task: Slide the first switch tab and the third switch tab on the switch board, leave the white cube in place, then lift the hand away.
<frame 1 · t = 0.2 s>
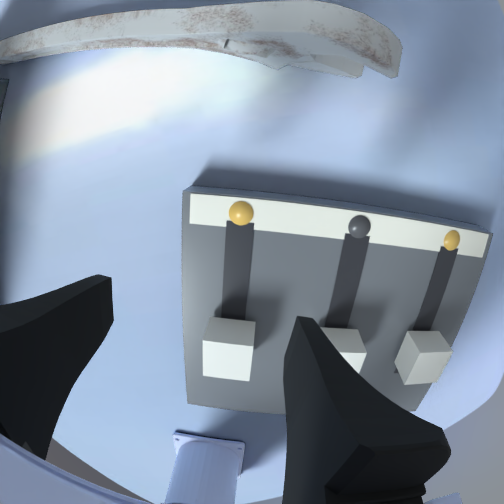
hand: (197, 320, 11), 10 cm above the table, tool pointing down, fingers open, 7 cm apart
white cube 2: (335, 357, 19), point 4 cm above the table, slide at 0.0 cm
switch tab 1: (422, 357, 19), point 4 cm above the table, slide at 0.0 cm
wrench: (140, 43, 16), on the table
switch tab 3: (229, 349, 19), point 4 cm above the table, slide at 0.0 cm
switch board: (331, 320, 22), on the table
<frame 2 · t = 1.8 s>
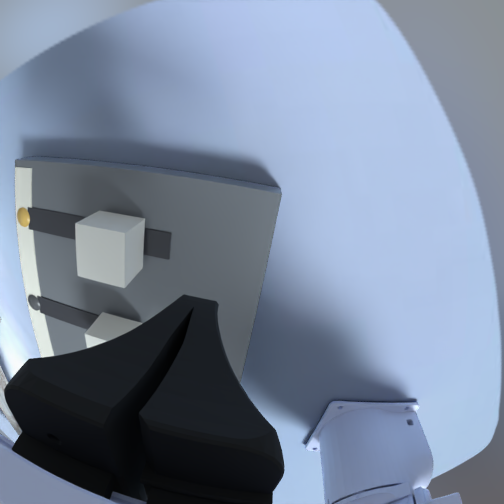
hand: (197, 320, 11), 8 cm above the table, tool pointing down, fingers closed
white cube 2: (115, 346, 18), point 4 cm above the table, slide at 0.0 cm
switch tab 1: (110, 247, 15), point 4 cm above the table, slide at 0.0 cm
wrench: (11, 370, 27), on the table
switch board: (129, 312, 21), on the table
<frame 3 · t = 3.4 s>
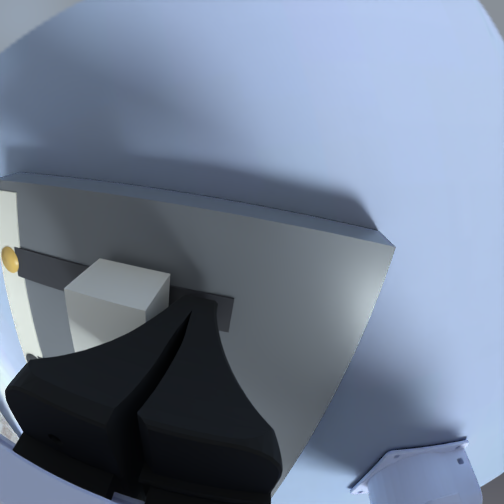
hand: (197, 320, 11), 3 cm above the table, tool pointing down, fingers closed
switch tab 1: (120, 316, 10), point 4 cm above the table, slide at 1.0 cm, touching gripper
wrench: (14, 413, 22), on the table
switch board: (160, 377, 16), on the table
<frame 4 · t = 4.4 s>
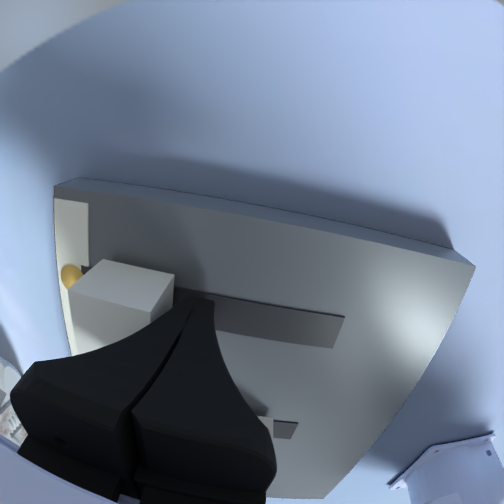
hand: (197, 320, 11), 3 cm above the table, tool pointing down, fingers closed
white cube 2: (236, 449, 13), point 4 cm above the table, slide at 0.0 cm
switch tab 1: (124, 317, 10), point 4 cm above the table, slide at 5.2 cm, touching gripper
wrench: (43, 430, 22), on the table
switch board: (234, 393, 16), on the table
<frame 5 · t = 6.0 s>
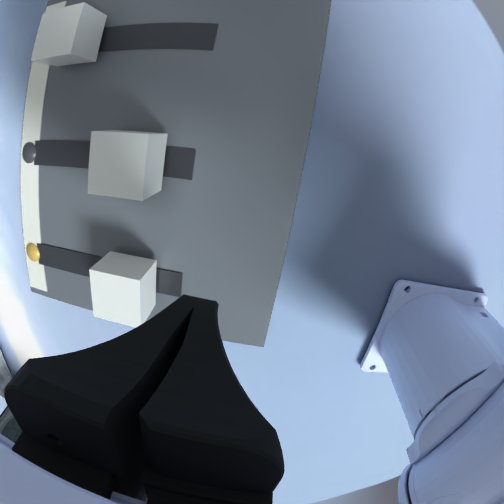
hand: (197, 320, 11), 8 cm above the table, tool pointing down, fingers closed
white cube 2: (127, 161, 14), point 4 cm above the table, slide at 0.0 cm
switch tab 1: (68, 36, 11), point 4 cm above the table, slide at 5.1 cm
cassette player: (119, 450, 30), on the table
switch tab 3: (124, 288, 16), point 4 cm above the table, slide at 0.0 cm
switch board: (146, 151, 17), on the table
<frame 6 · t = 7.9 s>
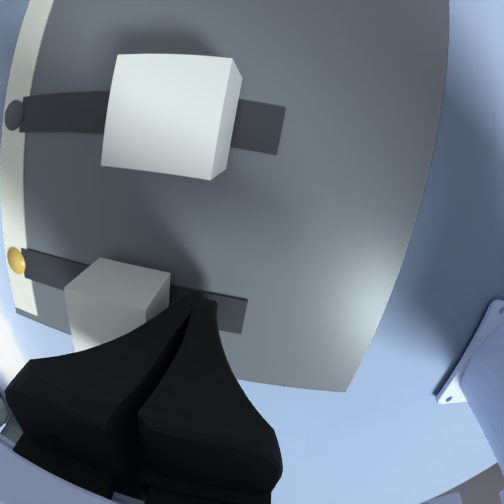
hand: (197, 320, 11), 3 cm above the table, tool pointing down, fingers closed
white cube 2: (175, 114, 8), point 4 cm above the table, slide at 0.0 cm
cassette player: (130, 484, 24), on the table
switch tab 3: (120, 316, 10), point 4 cm above the table, slide at 1.5 cm, touching gripper
switch board: (192, 113, 11), on the table
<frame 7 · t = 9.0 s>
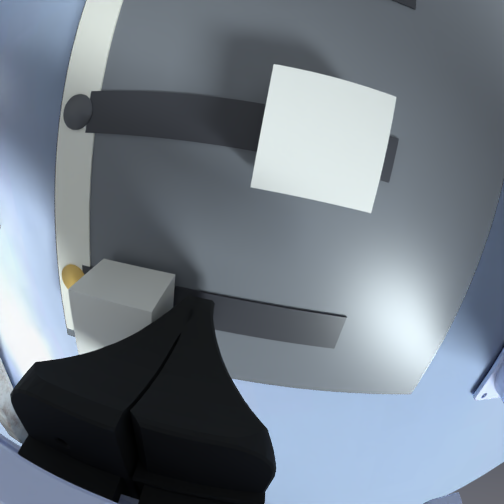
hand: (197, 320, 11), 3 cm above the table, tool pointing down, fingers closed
white cube 2: (318, 137, 8), point 4 cm above the table, slide at 0.0 cm
wrench: (5, 332, 17), on the table
switch tab 3: (124, 317, 10), point 4 cm above the table, slide at 5.2 cm, touching gripper
switch board: (292, 129, 11), on the table
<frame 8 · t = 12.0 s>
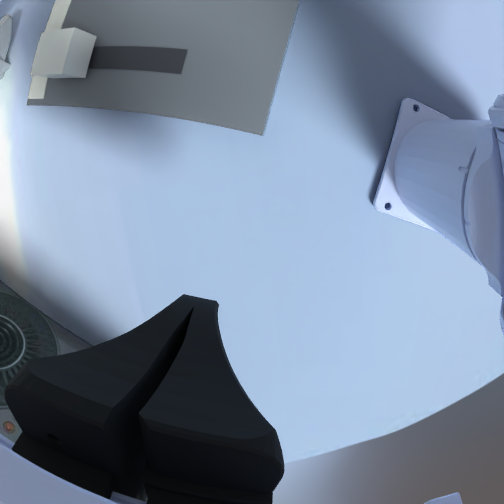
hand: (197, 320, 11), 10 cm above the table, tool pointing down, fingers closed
cassette player: (77, 356, 27), on the table
switch tab 3: (62, 54, 13), point 4 cm above the table, slide at 5.1 cm
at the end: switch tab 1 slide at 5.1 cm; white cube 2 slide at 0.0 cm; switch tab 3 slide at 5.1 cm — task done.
